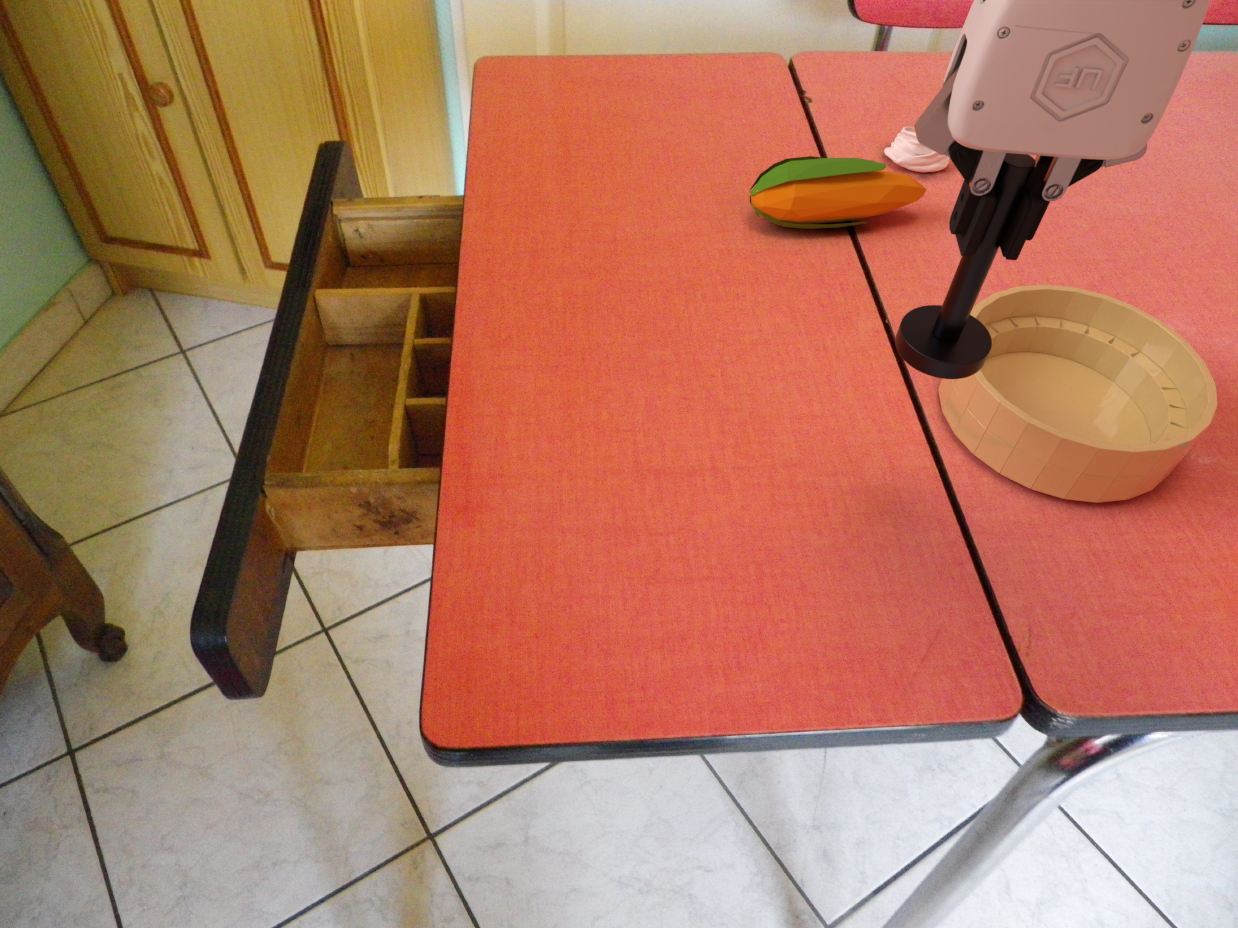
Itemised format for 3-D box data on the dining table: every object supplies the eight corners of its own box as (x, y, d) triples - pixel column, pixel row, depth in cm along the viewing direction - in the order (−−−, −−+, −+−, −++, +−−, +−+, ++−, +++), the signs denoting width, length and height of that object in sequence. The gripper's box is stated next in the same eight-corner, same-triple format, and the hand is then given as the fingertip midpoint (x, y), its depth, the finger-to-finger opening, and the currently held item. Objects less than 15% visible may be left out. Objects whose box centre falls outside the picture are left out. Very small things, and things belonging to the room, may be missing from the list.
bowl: (1196, 404, 79) (1240, 347, 73) (1136, 547, 68) (1183, 493, 63) (985, 314, 86) (1011, 257, 81) (900, 431, 75) (924, 373, 70)
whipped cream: (889, 181, 104) (899, 147, 100) (873, 148, 107) (882, 113, 103) (953, 175, 104) (965, 140, 100) (935, 142, 108) (946, 107, 104)
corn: (748, 143, 92) (924, 135, 94) (737, 202, 98) (903, 194, 100) (763, 185, 87) (948, 176, 89) (751, 244, 94) (924, 234, 96)
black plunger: (997, 343, 58) (1089, 154, 48) (965, 392, 55) (1056, 202, 44) (915, 309, 60) (985, 121, 50) (880, 354, 57) (947, 164, 46)
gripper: (964, -93, 35) (857, 271, 49) (1358, -68, 35) (1135, 295, 49) (938, -146, 40) (847, 200, 54) (1283, -124, 39) (1100, 220, 53)
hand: (984, 243), depth 51 cm, fingers closed on black plunger
